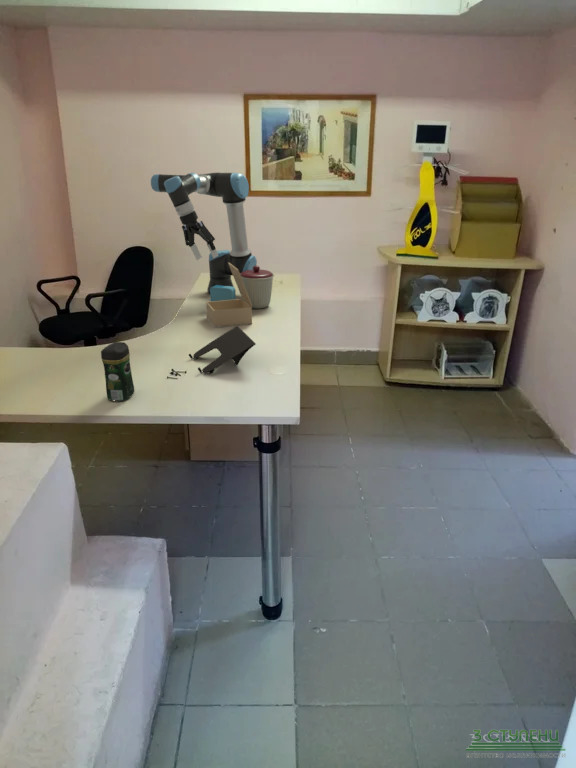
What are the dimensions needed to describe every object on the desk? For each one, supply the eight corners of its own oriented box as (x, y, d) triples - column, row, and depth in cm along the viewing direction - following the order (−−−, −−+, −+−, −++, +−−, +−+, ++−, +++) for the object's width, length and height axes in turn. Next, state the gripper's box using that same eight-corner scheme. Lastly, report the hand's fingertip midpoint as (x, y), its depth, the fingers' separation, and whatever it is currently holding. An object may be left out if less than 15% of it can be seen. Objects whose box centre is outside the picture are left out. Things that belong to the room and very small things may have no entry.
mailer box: (206, 318, 275) (206, 301, 272) (242, 314, 280) (242, 298, 277) (214, 327, 261) (213, 310, 258) (252, 323, 267) (251, 307, 263)
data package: (236, 309, 288) (235, 286, 283) (232, 312, 284) (231, 288, 279) (214, 307, 291) (213, 284, 287) (210, 310, 288) (209, 286, 283)
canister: (252, 313, 283) (252, 271, 274) (232, 305, 295) (231, 264, 287) (281, 307, 293) (281, 266, 284) (260, 299, 306) (260, 260, 297)
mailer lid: (228, 262, 268) (229, 262, 268) (241, 297, 277) (243, 297, 277) (237, 270, 254) (238, 269, 254) (251, 306, 263) (252, 305, 263)
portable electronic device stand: (197, 369, 231) (186, 351, 226) (245, 339, 233) (235, 321, 229) (212, 391, 211) (199, 372, 206) (263, 358, 214) (253, 338, 209)
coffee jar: (116, 389, 197) (109, 339, 190) (137, 391, 196) (131, 340, 188) (103, 401, 188) (95, 349, 181) (125, 403, 187) (119, 350, 180)
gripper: (165, 219, 255) (186, 263, 264) (195, 213, 236) (217, 260, 246) (178, 212, 258) (198, 255, 268) (208, 206, 240) (229, 252, 249)
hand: (207, 257), depth 257 cm, fingers open, 13 cm apart
